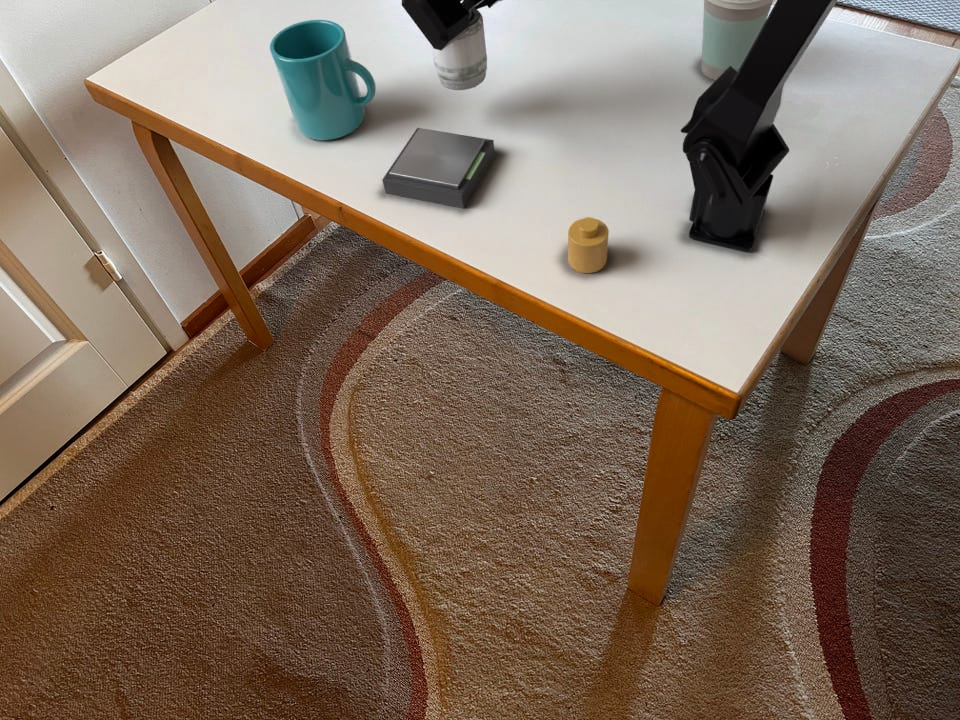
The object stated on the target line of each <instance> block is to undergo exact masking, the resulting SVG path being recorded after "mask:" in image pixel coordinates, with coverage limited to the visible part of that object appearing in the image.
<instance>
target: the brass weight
mask: <svg viewBox="0 0 960 720" xmlns="http://www.w3.org/2000/svg"><path fill="white" fill-rule="evenodd" d="M567 230H568V232H567V262H568V265H569V266H570V268H572V269H573V270H574V271H575V272H578V273H581V274H594V273H596V272H599V271H600V270H602V269H603V268H604V267H605V266H606V264H607V263H608V262H607V261H608V248H609V234H610V231H609V227H608V226H607V225H606V223H605V222H603V221H602V220H600V219H597V218H595V217H590V216H589V217H583V218H580V219H577V220H576V221H574V222H573V223H571V225H569V228H568V229H567Z"/></svg>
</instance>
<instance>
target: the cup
mask: <svg viewBox="0 0 960 720" xmlns="http://www.w3.org/2000/svg"><path fill="white" fill-rule="evenodd" d="M269 52H270V55H271V57H272V60H273V63H274V66H275V69H276V72H277V74H278V77H279V81H280V83H281V86H282V88H283V92H284V94H285V98H286V100H287V103H288V105H289V108H290V111H291V114H292V117H293V120H294V123H295V126H296V129H298V131H299V132H300V133H301V134H302V135H303V136H305V137H306V138H309V139H311V140H316V141H332V140H337V139H340V138H343V137H345V136H347V135H350V134H351V133H352V132H353V133H354V131H356V129H358V128H359V126H360V125H361V124H362V123H363V121H364V119H365V115H366V110H365V109H366V108H365V106H367V105H369V104H370V103H371V102H372V101H373V99H374V98H375V96H376V91H377V85H376V81H375V78H374V76H373V74H372V73H371V71H369V69H368V68H367V67H365V66H364V65H363V64H361V63H359V62H358V61H355V60H353V58H352V53H351V50H350V46H349V42H348V39H347V35H346V32H345V29H344V27H342V26H341V25H340V24H339V23H337V22H335V21H331V20H327V19H309V20H304V21H299V22H295V23H293V24H291V25H289V26H287V27H285V28H283V29H281V30H280V31H278V33H276V34H275V35H274V37H273V38H272V39H271V41H270V43H269ZM358 76H359V77H360V78H361V79H362V80H363V82H364V83H365V87H366V94H364V95H363V96H362V93H361V90H360V86H359V82H358V79H357V77H358Z"/></svg>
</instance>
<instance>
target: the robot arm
mask: <svg viewBox="0 0 960 720" xmlns="http://www.w3.org/2000/svg"><path fill="white" fill-rule="evenodd" d="M502 1H503V0H401V6H402V8H403V9H404V10H405V12H406V14H408V15H409V17H410V18H411V20H412V22H413V23H414V24H415V25H416V27H417V28H418V29H419V30H420V33H422V34H423V36H424V38H425V39H426V41H428V43H429V44H430V46H431V45H432V46H431V48H432V47H433V48H434V49H437V50H443V49H444V48H445V47H447V46H448V45H450V44H451V43H452V42H454V41H455V40H456V39H458V38H459V37H460V36H461V35H463V34H464V33H465V32H467V31H468V30H469V27H470V20H469V18H470V10H471V9H472V8H476V9H477V10H479V9H481V8H485V7H488V9H491V8H493V6H495V5H496V4H498V3H499V2H502ZM837 2H838V0H776V2H775V3H774V5H773V7H772V9H771V10H770V11H769V14H768V16H767V19H766V21H765V23H764V25H763V27H762V29H761V31H760V32H759V34H758V36H757V38H756V40H755V41H754V43H753V45H752V47H751V49H750V50H749V52H748V54H747V56H746V58H745V59H744V61H743V63H742V65H741V67H740V68H739V70H738V72H737V71H736V70H735V69H734V68H732V67H731V66H729V67H728V68H727V69H726V70H725V71H724V72H723V73H722V74H721V75H720V76H719V77H718V78H717V79H716V80H713V82H712V83H711V84H710V85H709V87H707V88H706V89H705V90H704V92H702V93H701V94H700V96H698V98H697V101H696V102H695V105H694V108H693V110H692V114H691V118H690V120H688V121H687V122H686V124H684V126H683V127H682V128H681V129H680V133H682V134H686V135H685V136H684V138H683V141H682V152H683V153H684V154H685V156H686V159H687V161H688V163H689V167H690V173H691V177H692V182H693V186H694V192H693V196H692V201H691V208H690V212H689V218H688V220H689V221H690V222H692V224H691V227H690V229H689V231H688V238H690V239H692V240H696V241H700V242H704V243H708V244H712V245H717V246H721V247H726V248H729V249H735V250H738V251H743V252H747V253H749V252H752V251H753V248H754V246H755V241H756V239H757V237H758V233H759V230H760V227H761V224H762V221H763V218H764V215H765V212H766V209H765V207H766V203H767V200H768V196H769V193H770V190H771V186H772V183H773V179H774V175H773V174H772V173H773V172H774V171H775V169H776V168H777V167H778V166H779V165H780V163H781V162H782V161H783V160H784V158H785V157H786V156H787V155H788V154H789V153H790V148H789V146H788V145H787V142H786V141H785V139H784V138H783V136H782V134H780V131H779V130H778V128H777V127H776V125H775V123H774V122H775V119H776V118H777V117H776V116H777V115H778V112H779V109H780V106H781V104H782V96H783V89H784V87H785V84H786V82H787V81H788V79H789V77H790V76H791V74H792V72H793V71H794V69H795V68H796V66H797V65H798V63H799V62H800V60H801V59H802V57H803V55H804V54H805V53H806V50H808V48H809V46H810V44H811V43H812V41H813V40H814V38H815V37H816V34H817V33H818V32H819V30H820V29H821V28H822V26H823V24H824V22H825V21H826V19H827V18H828V16H829V14H830V13H831V11H832V10H833V8H834V7H835V5H836V3H837Z"/></svg>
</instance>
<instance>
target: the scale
mask: <svg viewBox="0 0 960 720" xmlns="http://www.w3.org/2000/svg"><path fill="white" fill-rule="evenodd" d="M495 154H496V153H495V141H494V139H488V138H484V137H477V136H473V135H465V134H459V133H453V132H449V131H448V132H447V131H441V130H437V129H436V130H435V129H429V128H422V127H417V128H416V129H415V130H414V132H413V134H412V135H411V137H410V138H409V140H408V141H407V142H406V144H405V145H404V146H403V148H402V150H401V151H400V153H399V154H398V156H396V158H395V159H394V161H393V163H392V164H391V166H390V167H389V168H388V171H386V174H385V175H384V176H383V178H382V179H381V181H382V184H383V185H382V186H383V189H384V192H385V194H388V195H393V196H398V197H404V198H408V199H414V200H417V201H418V200H419V201H423V202H429V203H433V204H439V205H444V206H449V207H453V208H460V209H465V207H466V205H467V204H468V202H469V201H470V198H471V197H472V195H473V194H474V191H475V190H476V188H477V186H478V185H479V183H480V181H481V179H482V178H483V175H484V174H485V172H486V170H487V168H488V167H489V165H490V163H491V161H492V160H493V158H494V156H495Z"/></svg>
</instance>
